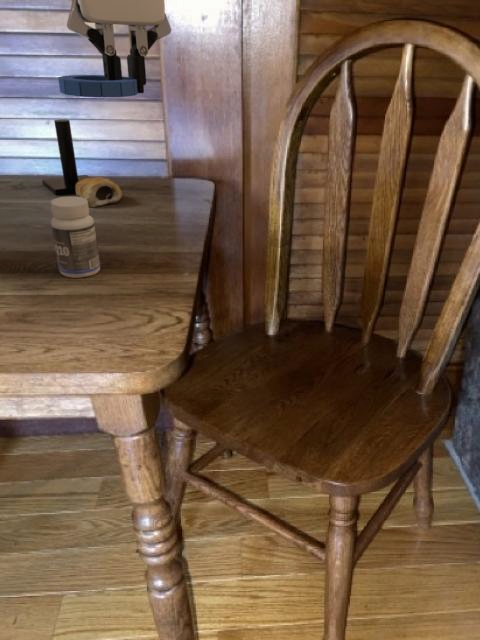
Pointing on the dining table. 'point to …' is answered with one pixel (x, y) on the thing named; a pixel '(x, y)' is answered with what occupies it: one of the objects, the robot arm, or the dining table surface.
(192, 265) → the dining table surface
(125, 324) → the dining table surface
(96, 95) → the ring
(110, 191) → the pastry
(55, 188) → the black upright rod
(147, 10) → the robot arm
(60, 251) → the pill bottle
